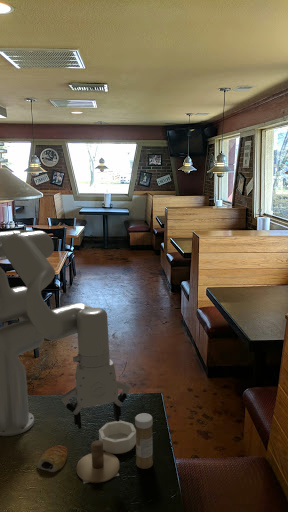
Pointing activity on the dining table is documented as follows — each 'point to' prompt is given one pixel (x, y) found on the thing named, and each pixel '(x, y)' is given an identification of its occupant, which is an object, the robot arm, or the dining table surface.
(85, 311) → the robot arm
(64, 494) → the dining table surface
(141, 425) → the sprinkles bottle
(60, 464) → the pastry
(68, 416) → the dining table surface
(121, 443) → the bowl
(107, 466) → the lid
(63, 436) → the dining table surface
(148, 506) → the dining table surface
